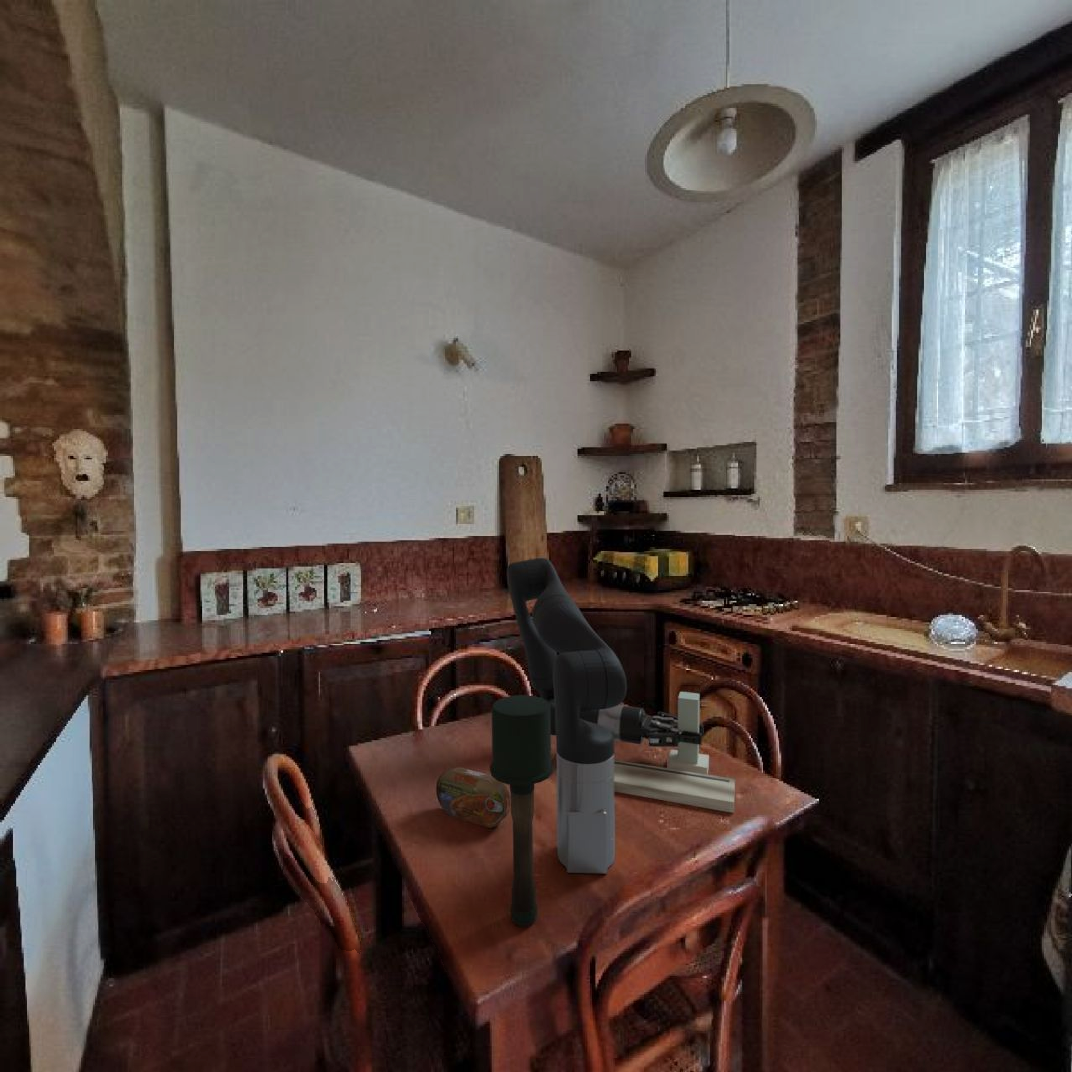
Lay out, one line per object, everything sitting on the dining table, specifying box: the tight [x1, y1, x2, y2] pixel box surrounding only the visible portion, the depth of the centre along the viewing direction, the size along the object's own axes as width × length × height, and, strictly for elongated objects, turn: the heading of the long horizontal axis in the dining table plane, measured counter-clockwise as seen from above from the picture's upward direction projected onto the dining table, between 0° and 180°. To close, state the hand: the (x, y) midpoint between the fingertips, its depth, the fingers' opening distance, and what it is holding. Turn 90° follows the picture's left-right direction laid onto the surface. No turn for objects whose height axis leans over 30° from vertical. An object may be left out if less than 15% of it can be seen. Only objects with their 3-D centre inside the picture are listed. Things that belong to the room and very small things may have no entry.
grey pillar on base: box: [666, 691, 710, 775], centre depth 115 cm, size 6×8×16 cm
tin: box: [435, 766, 511, 829], centre depth 99 cm, size 15×3×8 cm, turn 61°
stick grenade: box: [489, 694, 555, 928], centre depth 74 cm, size 8×9×30 cm
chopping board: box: [614, 759, 736, 814], centre depth 108 cm, size 9×26×2 cm, turn 69°
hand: (702, 734), depth 114 cm, fingers closed on grey pillar on base, 4 cm apart
